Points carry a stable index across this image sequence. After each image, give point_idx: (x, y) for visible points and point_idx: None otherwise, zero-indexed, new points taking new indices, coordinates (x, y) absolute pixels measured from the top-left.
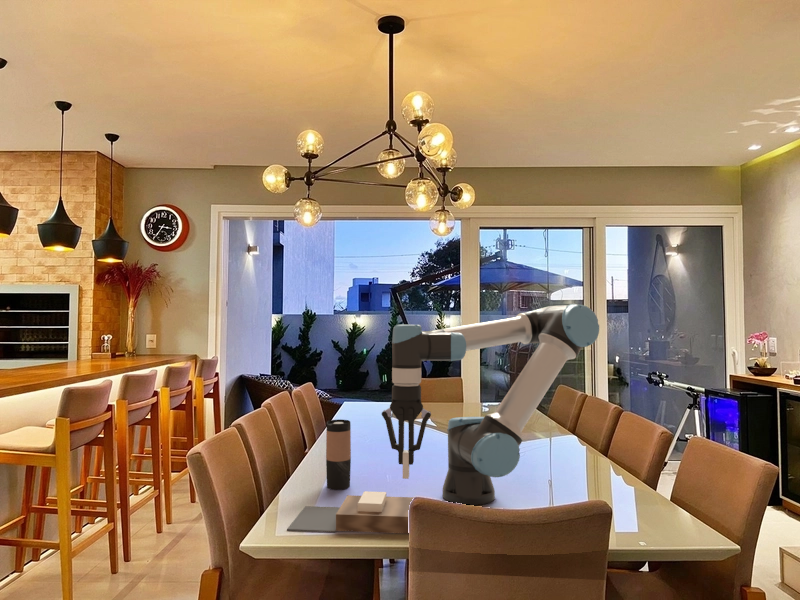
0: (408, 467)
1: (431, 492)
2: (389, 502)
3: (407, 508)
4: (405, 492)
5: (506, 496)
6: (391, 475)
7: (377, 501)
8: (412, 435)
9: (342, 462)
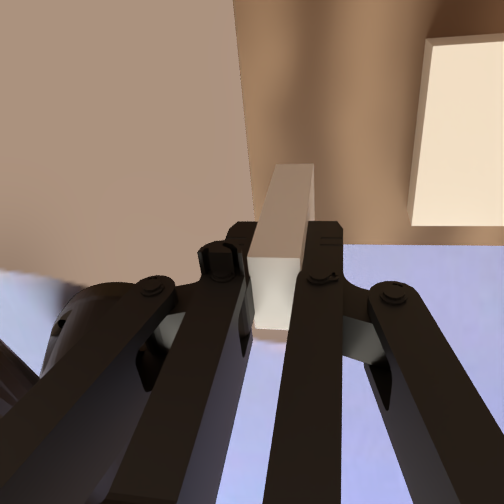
0: (266, 197)
1: (257, 373)
2: (390, 176)
3: (297, 110)
4: (342, 373)
5: (40, 349)
6: (398, 483)
7: (458, 83)
8: (165, 381)
9: None
